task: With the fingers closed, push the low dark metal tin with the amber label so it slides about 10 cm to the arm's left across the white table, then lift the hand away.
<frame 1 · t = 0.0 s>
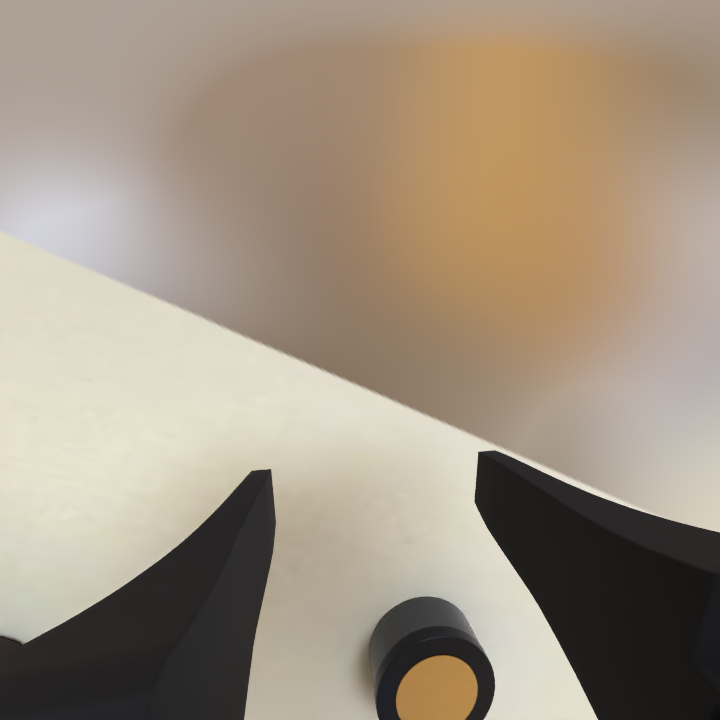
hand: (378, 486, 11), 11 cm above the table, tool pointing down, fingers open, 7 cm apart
tin: (421, 646, 24), on the table
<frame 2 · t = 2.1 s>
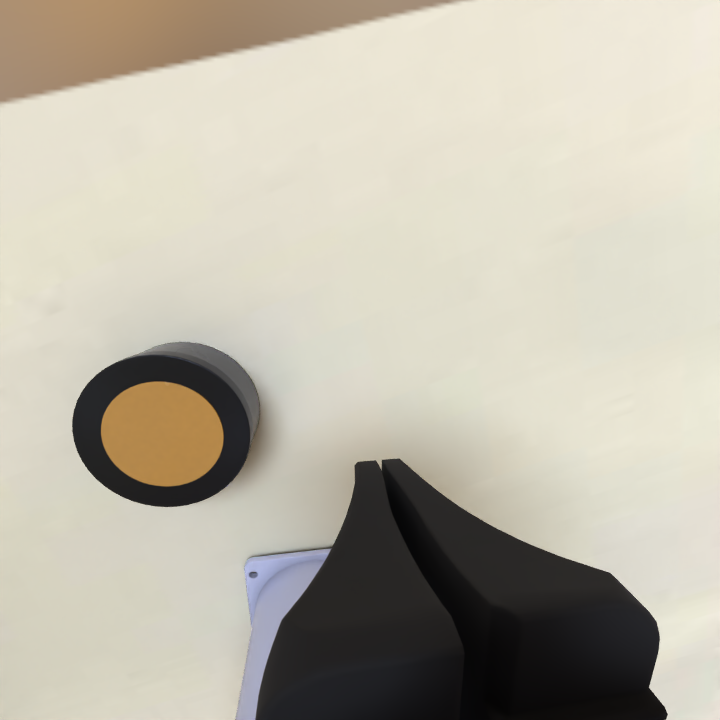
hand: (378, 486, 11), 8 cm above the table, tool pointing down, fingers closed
tin: (189, 408, 18), on the table
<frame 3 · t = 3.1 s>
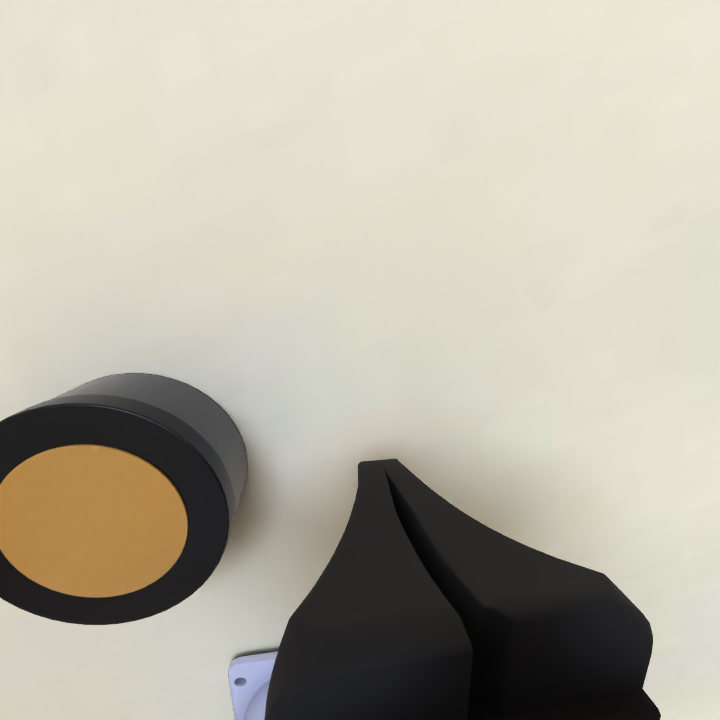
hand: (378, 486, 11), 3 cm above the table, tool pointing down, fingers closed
tin: (147, 465, 13), on the table
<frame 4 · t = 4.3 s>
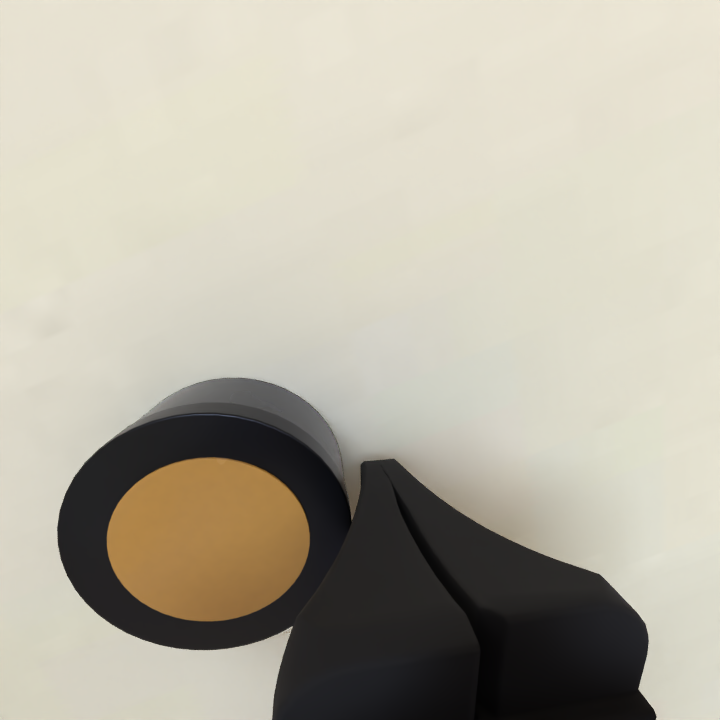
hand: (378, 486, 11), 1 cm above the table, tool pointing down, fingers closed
tin: (239, 475, 12), on the table, touching gripper
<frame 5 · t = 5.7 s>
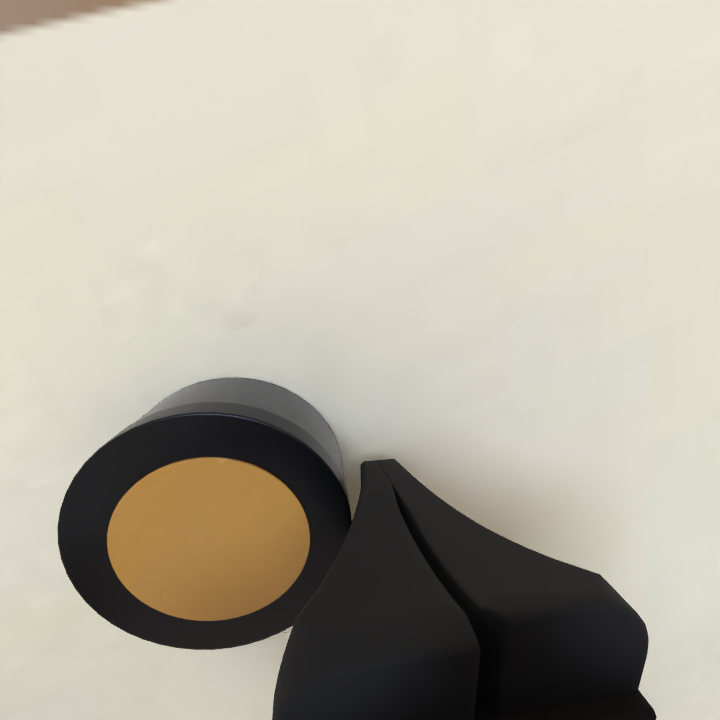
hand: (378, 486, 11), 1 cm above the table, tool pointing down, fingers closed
tin: (239, 475, 12), on the table, touching gripper
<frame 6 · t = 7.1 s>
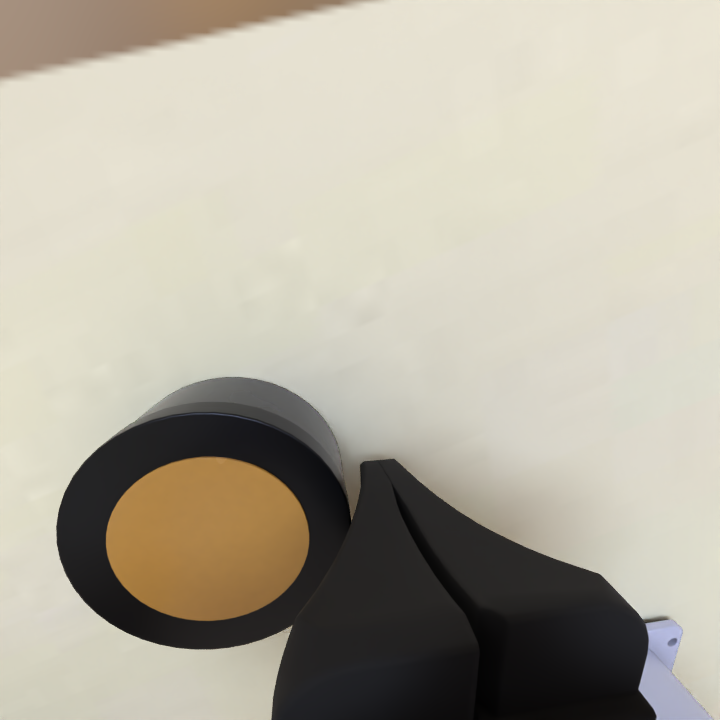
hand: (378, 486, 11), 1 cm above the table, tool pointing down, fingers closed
tin: (238, 475, 12), on the table, touching gripper
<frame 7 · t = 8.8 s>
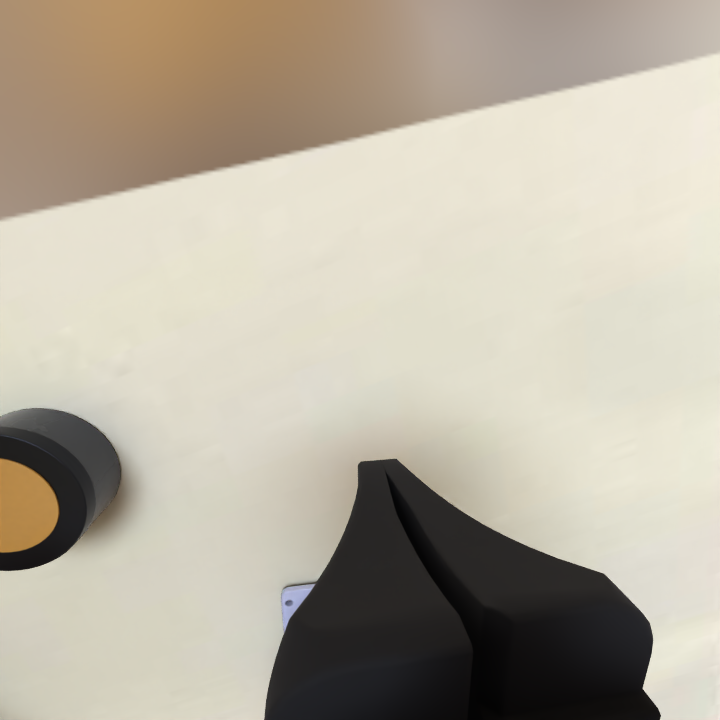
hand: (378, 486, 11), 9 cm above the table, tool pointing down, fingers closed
tin: (49, 469, 19), on the table
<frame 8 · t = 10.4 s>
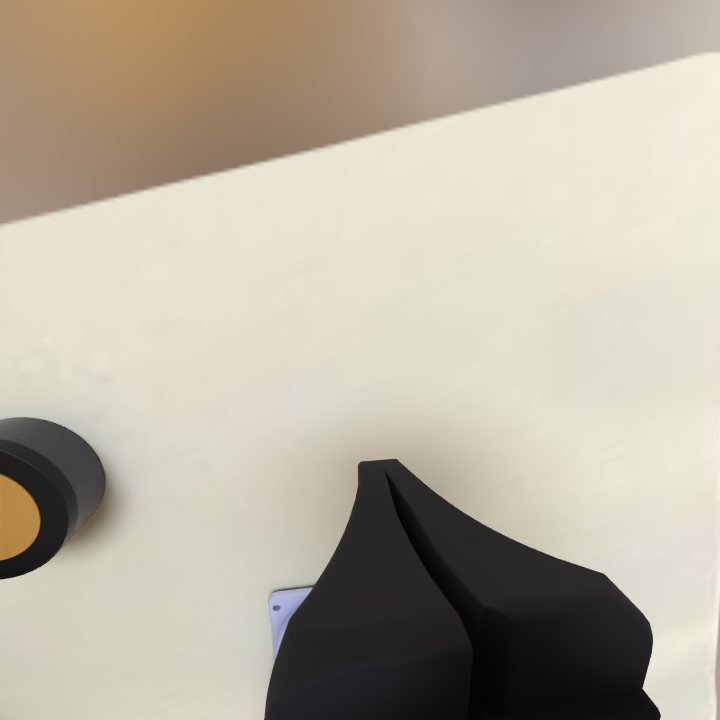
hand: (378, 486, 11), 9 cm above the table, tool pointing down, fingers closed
tin: (33, 477, 19), on the table
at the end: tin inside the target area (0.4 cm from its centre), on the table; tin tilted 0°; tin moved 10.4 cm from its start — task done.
